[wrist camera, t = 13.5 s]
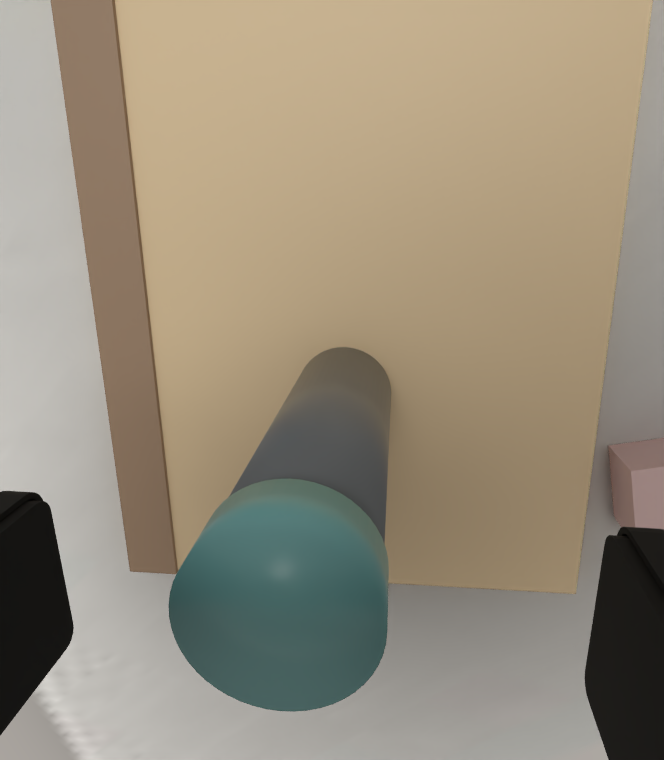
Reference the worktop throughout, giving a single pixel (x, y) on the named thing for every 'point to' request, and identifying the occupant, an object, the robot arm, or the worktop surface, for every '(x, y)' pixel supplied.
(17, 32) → the worktop surface
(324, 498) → the marker
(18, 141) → the worktop surface
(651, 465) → the eraser
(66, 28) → the notepad
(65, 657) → the worktop surface
